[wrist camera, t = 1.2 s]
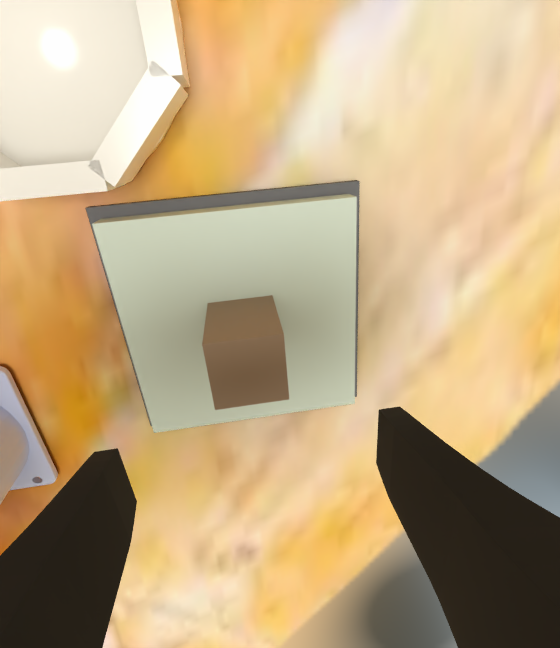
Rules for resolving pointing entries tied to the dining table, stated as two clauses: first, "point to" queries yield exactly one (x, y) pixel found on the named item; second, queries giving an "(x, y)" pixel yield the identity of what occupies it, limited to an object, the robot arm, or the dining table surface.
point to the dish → (85, 92)
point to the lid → (237, 307)
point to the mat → (229, 200)
